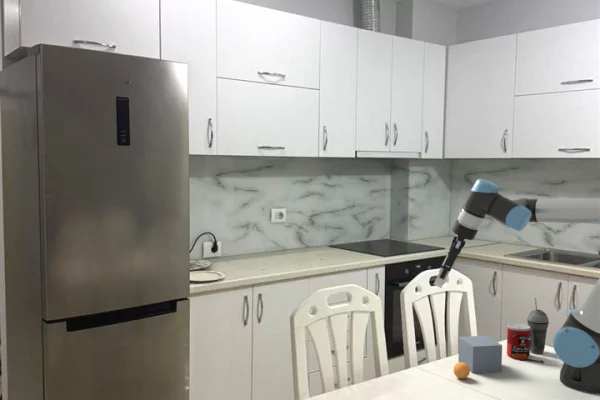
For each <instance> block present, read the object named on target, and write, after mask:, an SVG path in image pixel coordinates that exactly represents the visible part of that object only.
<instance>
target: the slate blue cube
mask: <svg viewBox="0 0 600 400" xmlns="http://www.w3.org/2000/svg"><path fill="white" fill-rule="evenodd" d="M457 361H458V362H457V363H459V362H463V363H465V364H467V365H468V367H469V369H470V373H471V374H477V373H478V374H479V373H482V374H483V373H496V372H502V369H503V367H502V361H503V344H501V343H499V342H498V341H496V340H495V339H493V338H492V337H490V336H489V335H472V336H471V335H470V336H459V337H458V360H457Z"/></svg>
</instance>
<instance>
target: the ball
mask: <svg viewBox="0 0 600 400" xmlns="http://www.w3.org/2000/svg"><path fill="white" fill-rule="evenodd" d="M452 370H453V374H454V375H455V376H456V378H458V379H462V380H463V379H464V380H465V379H466V378H468V377H469V376H470V373H471V372H470V369H469V367H468V365H467V364H465V363H463V362H457V363H455V365H454V366H453V369H452Z"/></svg>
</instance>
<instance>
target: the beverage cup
mask: <svg viewBox="0 0 600 400" xmlns="http://www.w3.org/2000/svg"><path fill="white" fill-rule="evenodd" d="M537 305H538V304H537V298H536V297H534V307H535V308H534V309H533V310H531V311H530V312H529V314H528V315H527V319H526V321H527V325H528V326H530V327H531V335H530V354H534V355H544V352H545V347H546V339H547V334H548V333H547V331H548V327H549V322H550V321H549V317H548V314H547V313H546V312H545V311H544V310H541V309H538V306H537Z"/></svg>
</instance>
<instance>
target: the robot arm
mask: <svg viewBox="0 0 600 400" xmlns="http://www.w3.org/2000/svg"><path fill="white" fill-rule="evenodd" d="M499 191H500V187H499V185H497V184H496V183H494V182H492V181H490V180H488V179H484V178H478V179H476V181H475V183H474V185H472V188H471V189H470V191H469V194H468V196H467V198H466V200H465V202H464V204H463V206H462V209H459V210H458V213H459V215H458V217H457V220H456V221H455V222H454V224H453V226H452V228H451V230H452V233H454V234H455V235H456V236H454V237H453V239H452V241H451V244H450V247H449V249H448V252H447V254H446V256H445V258H444V260H443V262H442V264H441V265H440V266H439V270H438V274H437V276H436V278H435V280H434V282H433V286H436V287H438V288H439V289H442V287H443V286H444V284H445V282H446V280H447V278H448V276H449V274H450V272H451V271H452V267H453V266H454V263H455V261H456V260H457V258H458V255H460V254H461V251H462V249H463V248H465V245H466V242H467V241H472V240H475V238H476V235H477V234H478V232H479V229H480V228H481V226H482V224H483V222H484V220H485V217H487V216H488V217H490V218H492V219H494V220H496V221H498V222H499V223H501V224H503V225H505V226H507V227H508V228H510V229H513V230H514V231H517V232H521V231H522V230H524V229H525V228H526V226H527V225H528V224H529V223H558V224H559V223H562V224H594V225H595V224H598V225H599V224H600V198H519V199H513V200H511V199H509V198H507V197H506V196H503V195H502V194H500V193H499ZM465 240H467V241H465ZM552 346H553V350H554V352H555V354H556V356H557V357H558V358H559V359H560V360H561V361H562V362H563V364H562V367H561V369H560V372H559V381H560V383H562V384H563V385H564V386H566V387H569V388H570V389H573V390H577V391H580V392H584V393H590V394H600V277H599V278H598V279H597V281H596V283H595V285H594V286H593V288H592V289H591V290H590V293H589V294H588V296H587V298H586V299H585V301H584V302H583V304H582V305H581V307H580V308H572V309H571V308H570V309H569V310H568V315H567V319H566V320H565V321H564V323H563V325H562V327H560V329H559V330H558V331H556V333H555V334H554V338H553V343H552Z"/></svg>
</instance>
